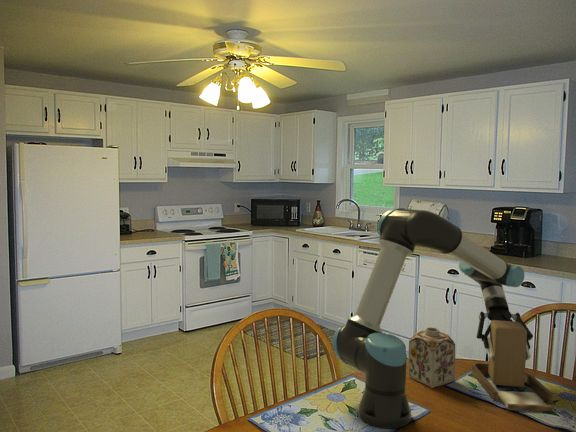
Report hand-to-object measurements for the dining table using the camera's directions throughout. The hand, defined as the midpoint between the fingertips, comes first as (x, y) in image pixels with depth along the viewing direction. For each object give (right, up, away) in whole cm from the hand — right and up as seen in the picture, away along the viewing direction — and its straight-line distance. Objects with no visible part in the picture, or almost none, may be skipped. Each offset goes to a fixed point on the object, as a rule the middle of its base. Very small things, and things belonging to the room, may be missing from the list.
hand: (510, 357), depth 162 cm
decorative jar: (-25, -10, +7) cm, 27 cm away
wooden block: (0, -9, +3) cm, 10 cm away
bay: (0, -10, -2) cm, 11 cm away
